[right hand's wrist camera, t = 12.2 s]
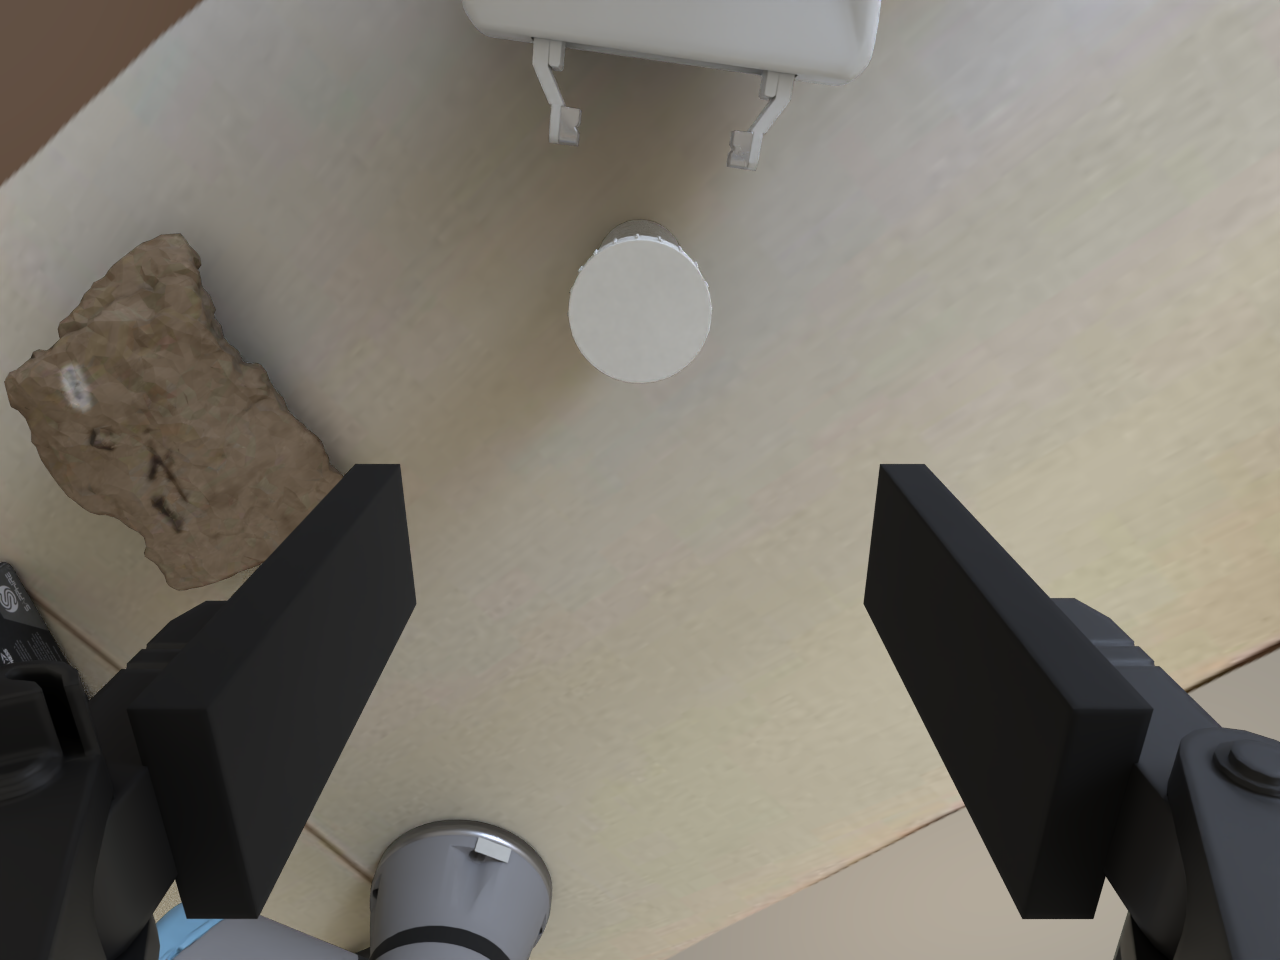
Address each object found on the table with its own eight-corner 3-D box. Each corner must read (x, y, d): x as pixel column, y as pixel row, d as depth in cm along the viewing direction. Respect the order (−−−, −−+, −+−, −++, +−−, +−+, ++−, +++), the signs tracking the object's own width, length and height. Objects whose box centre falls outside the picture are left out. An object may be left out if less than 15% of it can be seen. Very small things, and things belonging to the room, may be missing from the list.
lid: (643, 400, 38) (643, 412, 36) (542, 309, 36) (537, 317, 34) (737, 302, 36) (743, 310, 34) (636, 203, 35) (636, 205, 33)
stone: (-37, 333, 49) (-88, 360, 43) (185, 220, 49) (161, 233, 44) (195, 582, 59) (176, 628, 54) (375, 485, 60) (374, 521, 54)
